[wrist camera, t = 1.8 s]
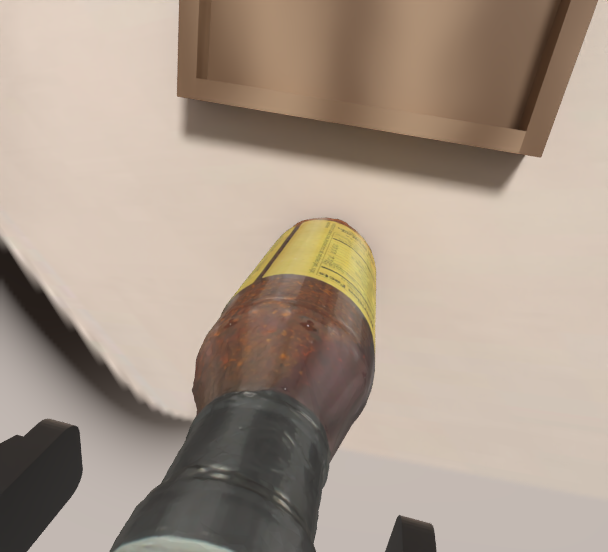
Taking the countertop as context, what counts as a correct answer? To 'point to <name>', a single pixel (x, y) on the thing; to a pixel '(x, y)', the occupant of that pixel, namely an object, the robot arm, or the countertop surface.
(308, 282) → the sauce bottle
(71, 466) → the robot arm
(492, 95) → the walnut tray
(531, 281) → the countertop surface
